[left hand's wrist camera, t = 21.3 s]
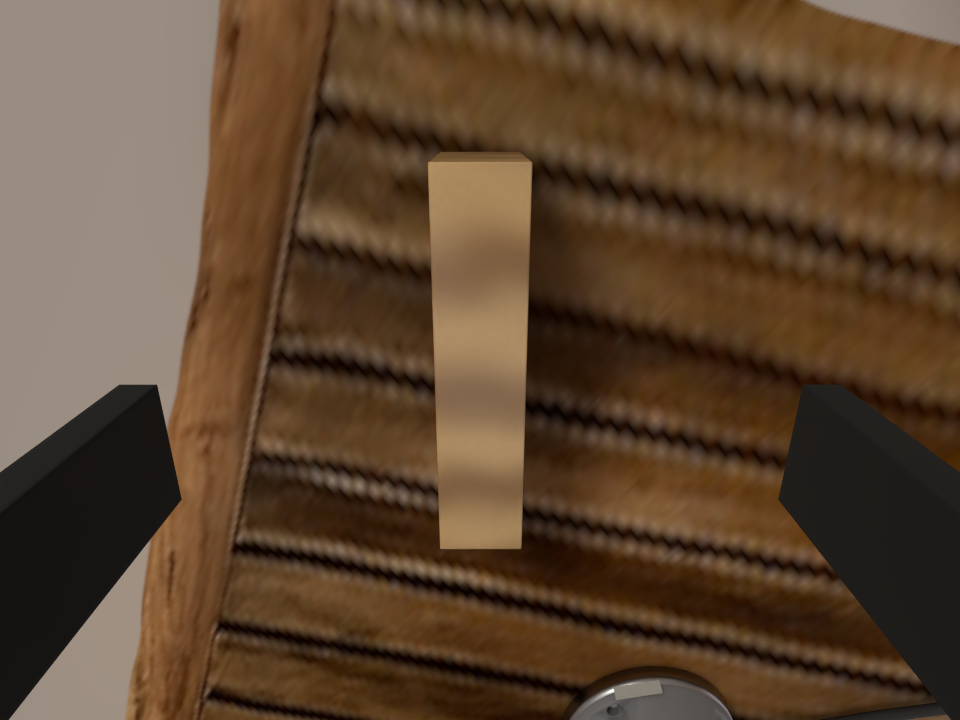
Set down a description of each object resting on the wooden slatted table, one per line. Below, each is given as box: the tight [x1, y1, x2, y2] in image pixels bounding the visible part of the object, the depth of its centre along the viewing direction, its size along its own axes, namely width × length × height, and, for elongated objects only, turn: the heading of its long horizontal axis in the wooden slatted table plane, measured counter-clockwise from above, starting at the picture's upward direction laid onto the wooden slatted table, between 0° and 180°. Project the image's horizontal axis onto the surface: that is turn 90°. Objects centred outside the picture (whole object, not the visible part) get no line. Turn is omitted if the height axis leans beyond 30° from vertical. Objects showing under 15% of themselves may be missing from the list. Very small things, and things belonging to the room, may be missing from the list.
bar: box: [428, 152, 532, 549], centre depth 37 cm, size 22×5×9 cm, turn 0°
